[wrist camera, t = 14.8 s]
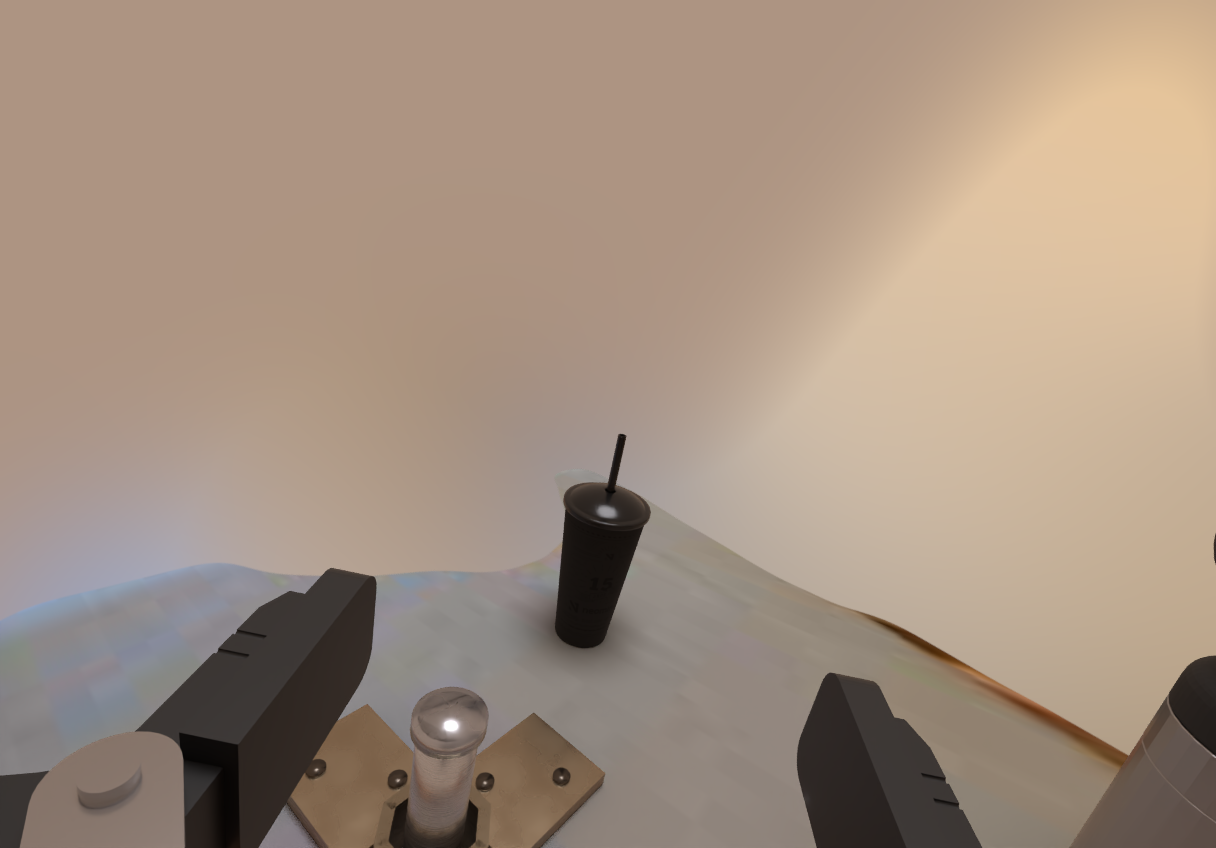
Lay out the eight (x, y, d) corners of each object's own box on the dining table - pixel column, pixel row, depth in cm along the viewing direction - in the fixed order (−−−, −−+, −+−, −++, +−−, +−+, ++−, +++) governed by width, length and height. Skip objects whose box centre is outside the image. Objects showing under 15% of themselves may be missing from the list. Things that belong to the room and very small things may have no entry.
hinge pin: (435, 829, 37) (456, 676, 33) (475, 875, 35) (503, 718, 31) (379, 874, 34) (395, 712, 30) (420, 927, 32) (443, 761, 28)
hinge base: (459, 660, 51) (465, 621, 49) (602, 783, 42) (613, 740, 41) (265, 773, 38) (265, 725, 37) (413, 976, 30) (420, 925, 29)
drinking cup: (528, 610, 58) (562, 417, 52) (598, 599, 62) (638, 418, 55) (558, 666, 52) (602, 456, 45) (634, 650, 56) (685, 453, 49)
